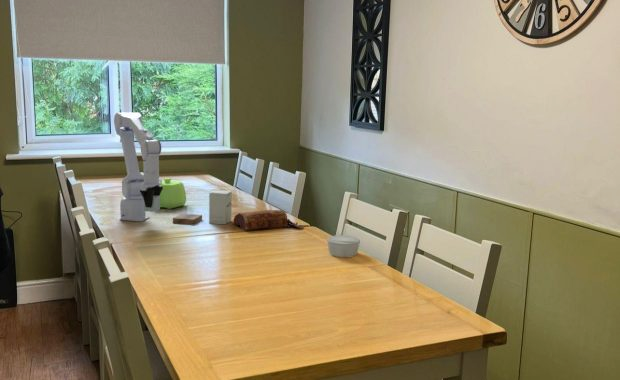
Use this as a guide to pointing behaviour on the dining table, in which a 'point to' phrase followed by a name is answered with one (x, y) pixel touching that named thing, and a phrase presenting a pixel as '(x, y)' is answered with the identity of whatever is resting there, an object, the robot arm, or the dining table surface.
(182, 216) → the walnut slab
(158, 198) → the pale grey block
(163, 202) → the teapot
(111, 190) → the dining table surface
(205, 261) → the dining table surface
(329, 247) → the ramekin
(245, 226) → the cured meat
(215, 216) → the supplement box
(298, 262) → the dining table surface
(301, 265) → the dining table surface
